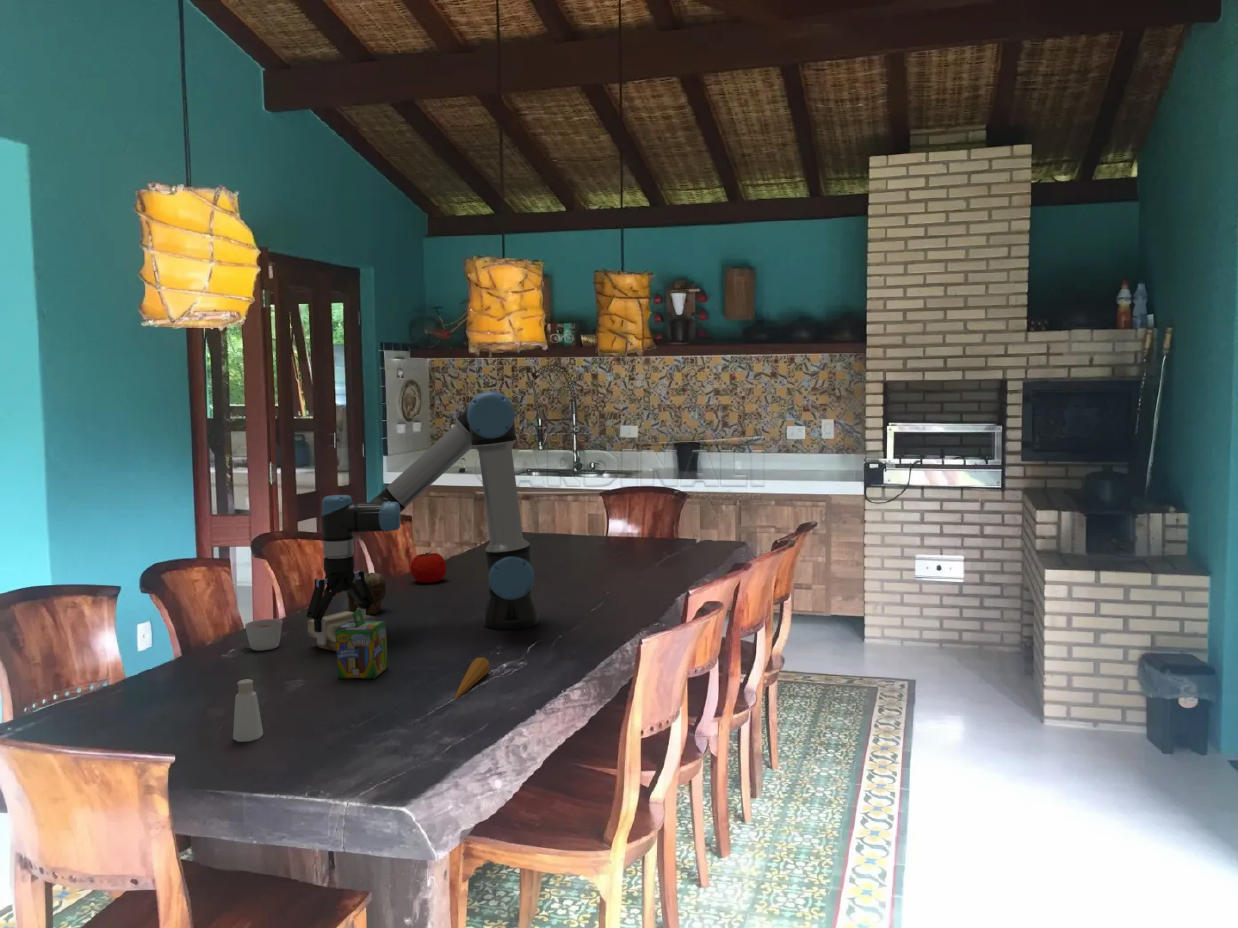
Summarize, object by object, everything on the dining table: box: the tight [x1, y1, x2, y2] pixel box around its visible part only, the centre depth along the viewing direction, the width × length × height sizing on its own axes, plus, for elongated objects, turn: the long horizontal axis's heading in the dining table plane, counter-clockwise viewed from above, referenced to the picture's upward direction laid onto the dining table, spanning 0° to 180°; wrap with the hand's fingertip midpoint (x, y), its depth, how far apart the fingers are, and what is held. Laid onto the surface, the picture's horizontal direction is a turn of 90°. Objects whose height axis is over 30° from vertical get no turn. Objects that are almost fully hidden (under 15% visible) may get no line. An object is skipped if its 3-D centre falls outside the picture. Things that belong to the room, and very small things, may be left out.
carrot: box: [453, 657, 491, 701], centre depth 214 cm, size 20×4×4 cm, turn 170°
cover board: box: [307, 610, 377, 642], centre depth 249 cm, size 12×12×4 cm
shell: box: [346, 572, 387, 616], centre depth 284 cm, size 11×11×12 cm
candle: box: [244, 618, 283, 652], centre depth 249 cm, size 9×9×6 cm
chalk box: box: [335, 609, 389, 680], centre depth 224 cm, size 9×9×15 cm
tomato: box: [410, 551, 447, 584], centre depth 326 cm, size 12×12×10 cm
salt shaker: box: [232, 678, 264, 743], centre depth 185 cm, size 5×5×11 cm
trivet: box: [316, 640, 336, 652], centre depth 249 cm, size 9×9×3 cm
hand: (342, 638), depth 249 cm, fingers closed on cover board, 12 cm apart
